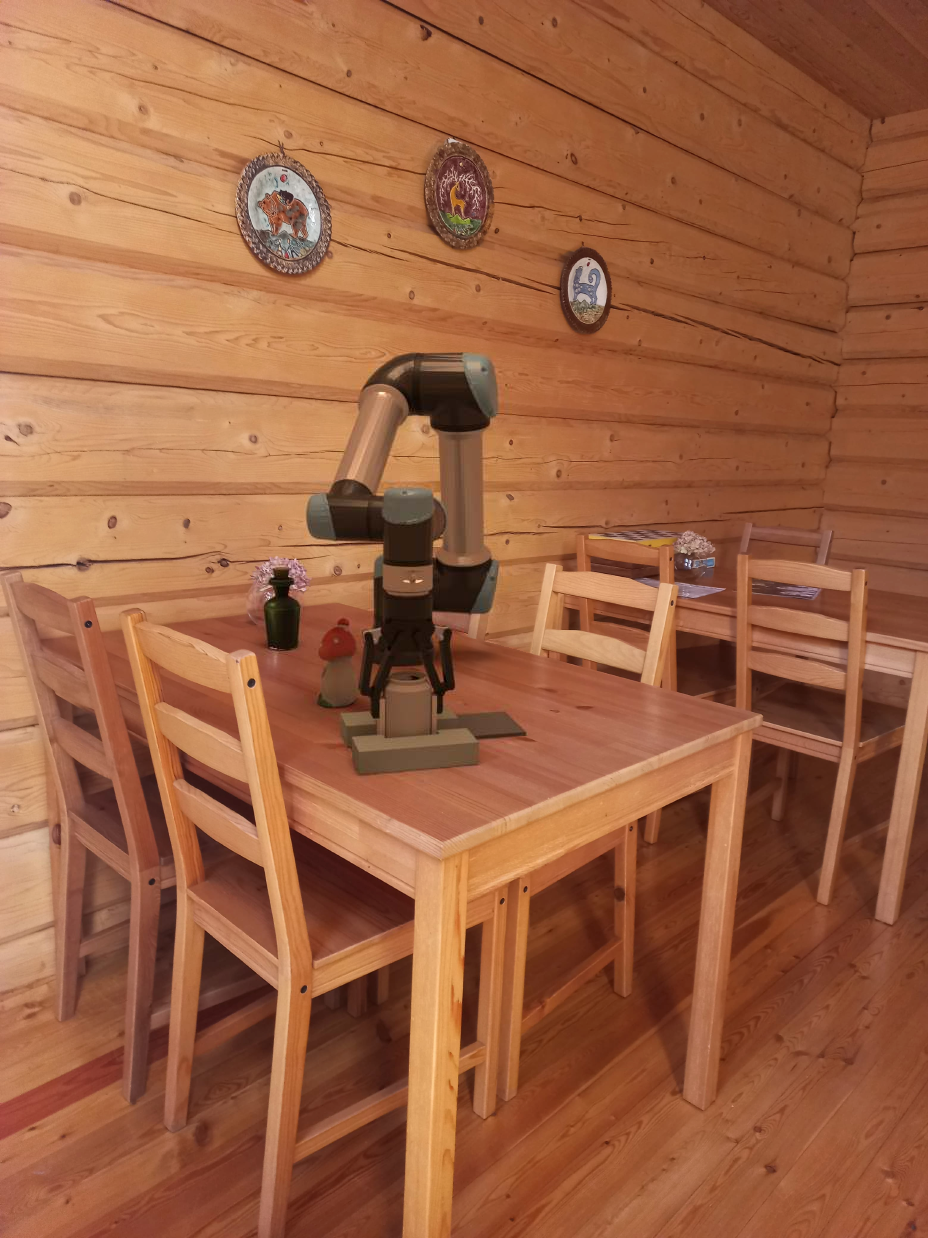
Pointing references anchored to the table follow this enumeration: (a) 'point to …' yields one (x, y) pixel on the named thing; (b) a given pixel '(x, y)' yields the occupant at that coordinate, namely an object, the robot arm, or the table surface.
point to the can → (407, 704)
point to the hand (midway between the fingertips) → (406, 735)
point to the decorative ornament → (338, 667)
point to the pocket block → (407, 745)
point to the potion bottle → (282, 612)
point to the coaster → (490, 725)
